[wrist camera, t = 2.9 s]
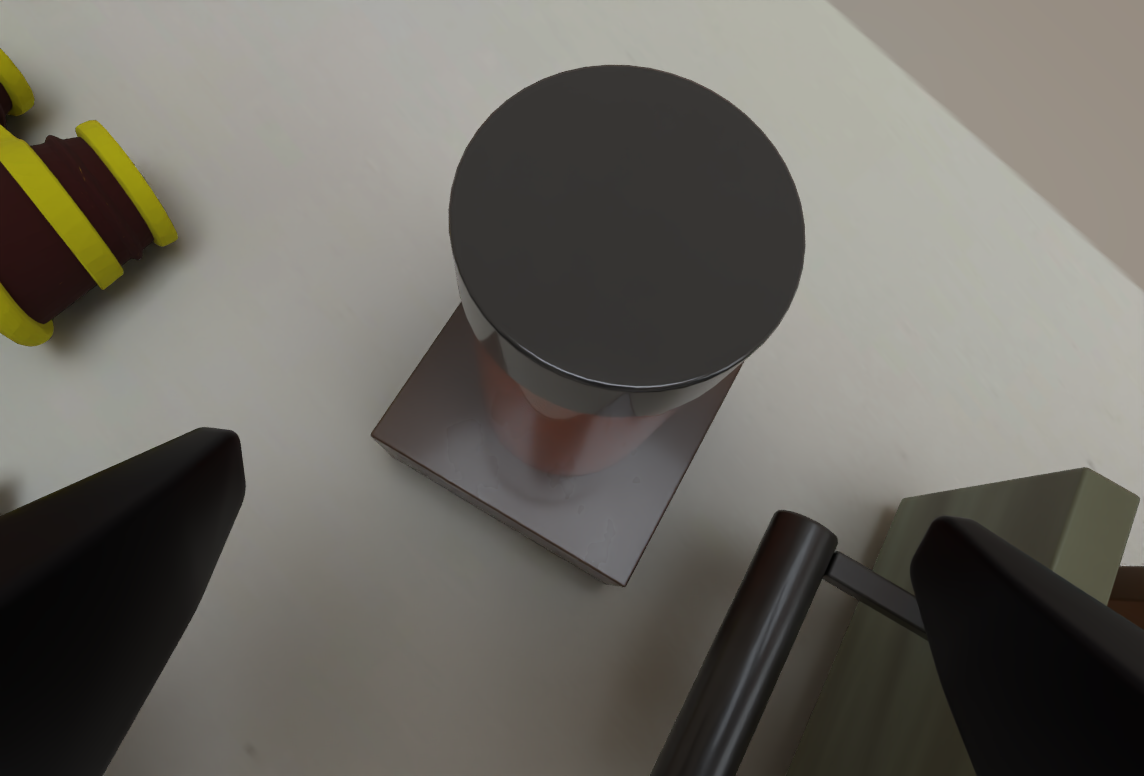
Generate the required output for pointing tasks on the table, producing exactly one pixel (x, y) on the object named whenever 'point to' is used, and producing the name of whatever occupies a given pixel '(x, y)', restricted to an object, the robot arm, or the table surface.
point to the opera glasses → (65, 217)
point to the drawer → (886, 629)
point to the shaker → (616, 257)
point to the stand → (527, 495)
